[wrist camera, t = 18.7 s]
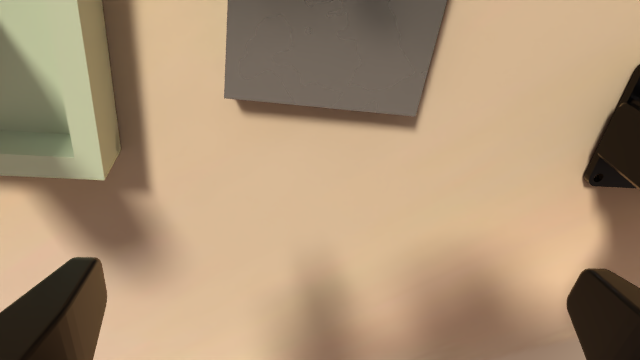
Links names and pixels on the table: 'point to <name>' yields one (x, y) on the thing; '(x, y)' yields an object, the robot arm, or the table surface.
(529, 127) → the table surface
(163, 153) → the table surface
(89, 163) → the tray
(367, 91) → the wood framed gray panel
